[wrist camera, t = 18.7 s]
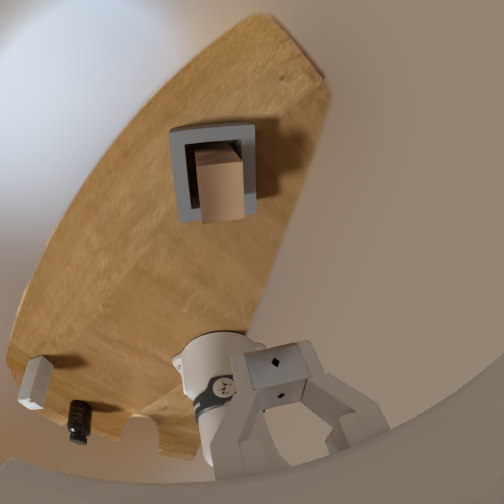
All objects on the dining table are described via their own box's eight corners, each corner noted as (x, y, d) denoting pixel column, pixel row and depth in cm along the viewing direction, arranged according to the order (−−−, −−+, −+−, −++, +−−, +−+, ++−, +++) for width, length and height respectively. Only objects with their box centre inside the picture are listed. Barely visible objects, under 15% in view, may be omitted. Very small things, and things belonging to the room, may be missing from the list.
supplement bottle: (67, 403, 54) (63, 439, 44) (74, 397, 53) (69, 435, 43) (88, 412, 58) (85, 448, 48) (96, 406, 56) (93, 444, 46)
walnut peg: (227, 143, 31) (242, 161, 23) (229, 185, 34) (244, 218, 26) (194, 146, 30) (196, 166, 22) (198, 188, 33) (202, 223, 25)
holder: (249, 201, 36) (256, 213, 32) (180, 209, 34) (180, 222, 31) (247, 121, 30) (254, 124, 27) (171, 128, 28) (168, 132, 25)
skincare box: (41, 369, 45) (31, 411, 35) (28, 357, 42) (16, 400, 32) (55, 365, 45) (45, 410, 35) (41, 353, 42) (29, 399, 33)
